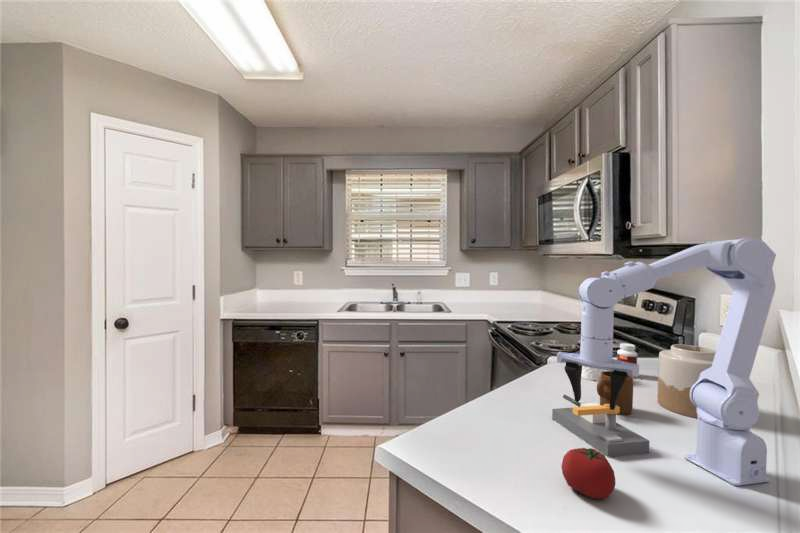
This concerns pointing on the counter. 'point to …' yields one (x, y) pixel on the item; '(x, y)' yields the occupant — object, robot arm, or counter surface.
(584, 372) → the white cup
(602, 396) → the mug
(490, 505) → the counter surface
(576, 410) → the clip
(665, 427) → the counter surface
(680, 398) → the vase
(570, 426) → the grey piece
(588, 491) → the tomato
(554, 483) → the counter surface
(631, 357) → the pill bottle
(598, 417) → the plug
